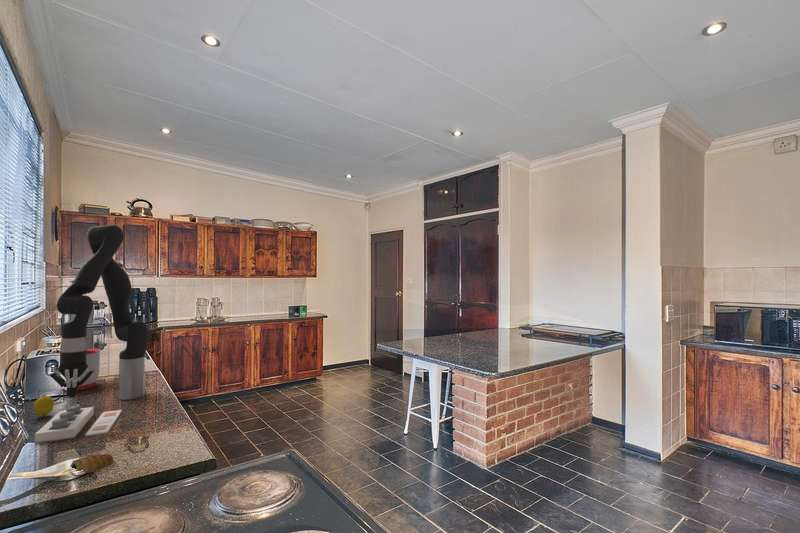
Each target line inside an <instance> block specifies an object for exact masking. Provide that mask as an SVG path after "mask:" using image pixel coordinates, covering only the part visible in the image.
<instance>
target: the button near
mask: <svg viewBox="0 0 800 533" xmlns="http://www.w3.org/2000/svg"><path fill="white" fill-rule="evenodd" d="M67 427H68V418H61V419H56V420H54V421H52V430H54V429H61V428H67Z"/></svg>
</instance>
